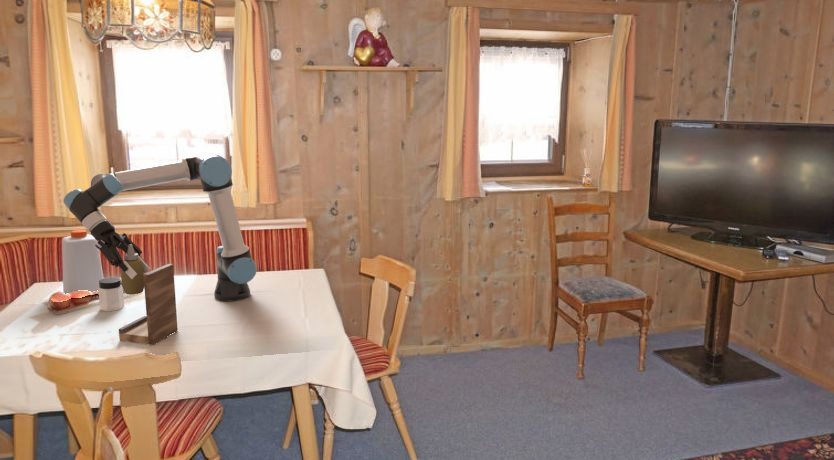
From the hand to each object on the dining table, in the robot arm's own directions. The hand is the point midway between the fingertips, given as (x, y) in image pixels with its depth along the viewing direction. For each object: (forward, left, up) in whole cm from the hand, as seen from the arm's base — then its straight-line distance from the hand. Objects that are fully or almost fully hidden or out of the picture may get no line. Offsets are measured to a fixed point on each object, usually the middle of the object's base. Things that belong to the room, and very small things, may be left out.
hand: (141, 273), depth 221 cm
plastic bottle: (+42, -51, -24) cm, 70 cm away
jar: (+23, -30, -24) cm, 45 cm away
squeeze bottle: (+3, -1, -8) cm, 8 cm away
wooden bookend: (-1, +1, -23) cm, 23 cm away
